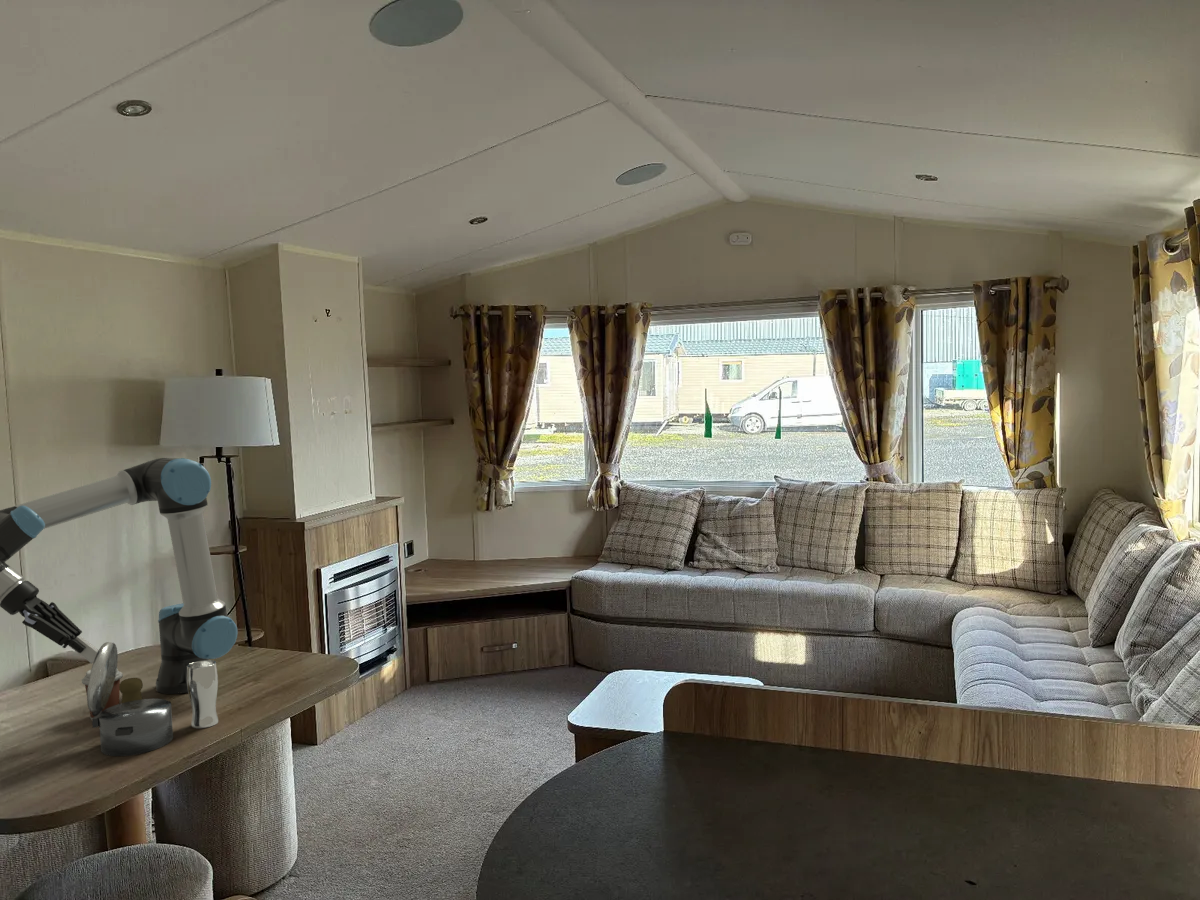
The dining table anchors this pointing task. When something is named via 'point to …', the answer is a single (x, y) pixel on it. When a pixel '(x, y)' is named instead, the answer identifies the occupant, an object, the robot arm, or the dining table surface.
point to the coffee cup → (115, 691)
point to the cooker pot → (135, 727)
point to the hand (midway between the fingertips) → (96, 658)
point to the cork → (131, 689)
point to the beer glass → (203, 692)
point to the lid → (102, 677)
